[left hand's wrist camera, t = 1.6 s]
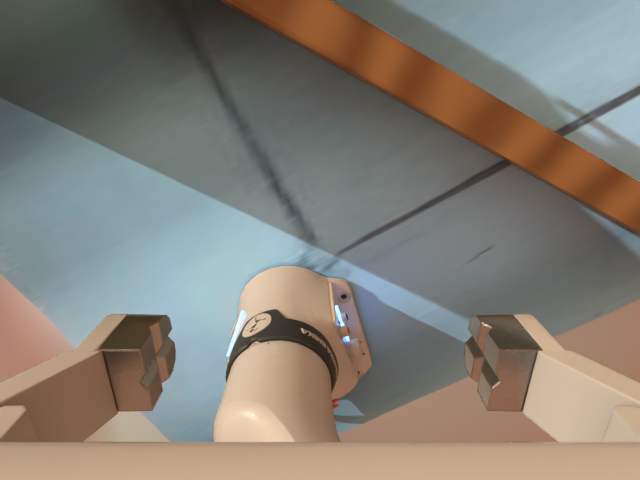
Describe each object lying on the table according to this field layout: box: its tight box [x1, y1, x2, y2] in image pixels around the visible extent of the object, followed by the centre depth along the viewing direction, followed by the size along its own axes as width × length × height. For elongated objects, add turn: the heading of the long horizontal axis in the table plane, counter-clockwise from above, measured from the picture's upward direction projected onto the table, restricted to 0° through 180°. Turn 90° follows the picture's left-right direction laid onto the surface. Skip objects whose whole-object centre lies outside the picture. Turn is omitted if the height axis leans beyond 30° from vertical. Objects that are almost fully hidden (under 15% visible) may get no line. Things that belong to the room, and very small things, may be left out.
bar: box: [218, 0, 640, 235], centre depth 41 cm, size 73×4×6 cm, turn 63°
